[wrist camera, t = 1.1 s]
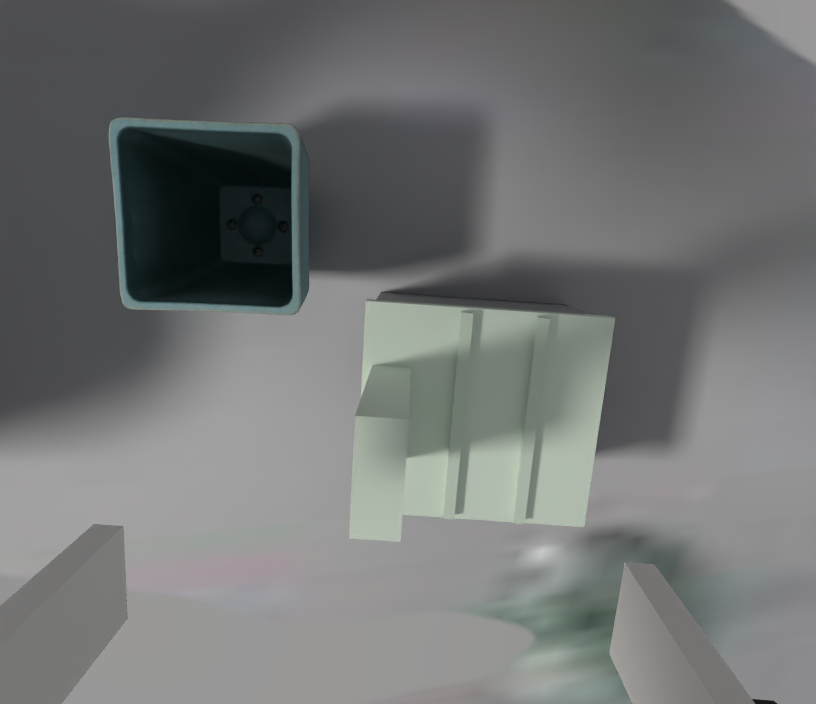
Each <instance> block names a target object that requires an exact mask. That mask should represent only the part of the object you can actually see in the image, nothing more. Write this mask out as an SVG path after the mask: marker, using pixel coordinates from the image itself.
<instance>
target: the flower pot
mask: <svg viewBox="0 0 816 704" xmlns="http://www.w3.org/2000/svg"><path fill="white" fill-rule="evenodd" d="M108 137H109V149H110V162H111V171H112V181H113V194H114V207H115V218H116V237H117V255H118V268H119V284H120V295H121V299H122V302H123V305H124V306H125V307H126V308H128V309H135V310H178V311H181V310H184V311H212V312H236V313H257V314H274V315H293V314H296V313H297V312H298V311H299V309H300V308H301V306H302V304H303V302H304V300H305V298H306V296H307V293H308V290H309V159H308V155H307V152H306V149H305V146H304V144H303V141H302V139H301V136H300V134H299V131H298V130H297V128H296V127H294V126H293V125H289V124H282V123H243V122H211V121H194V120H169V119H148V118H131V117H119V118H115V119H113V120H112V121H111V122H110V126H109V136H108ZM255 196H260V197H261V199H262V201H261V203H260V204H256V203H255V202H254V197H255ZM230 221H235V222H236V224H237V227H236V228H235V229H230V227H229V222H230ZM282 223H286V224H287V226H288V229H287V230H286V231H282V230H281V229H280V225H281V224H282ZM256 248H261V249H262V251H263V254H262V255H261V256H257V255H256V254H255V249H256Z"/></svg>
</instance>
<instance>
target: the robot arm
mask: <svg viewBox="0 0 816 704" xmlns="http://www.w3.org/2000/svg"><path fill="white" fill-rule="evenodd" d="M127 618H128V616H127V594H126V573H125V553H124V532H123V526H113V525H99V524H94V525H93V526H91V527H90V528H89V529H88V530H87V531H86V532H85V533H83V534H82V535H81V536H80V537H79V538H78V539H76V540H75V541H74V542H73V543H72V544H71V545H70V546H68V547H67V548H66V549H65V550H64V551H63V552H62V553H60V554H59V555H58V556H57V557H56V558H55V559H54V560H52V561H51V562H50V563H49V564H48V565H47V566H46V567H44V568H43V569H42V570H41V571H40V572H39V573H37V574H36V575H35V576H34V577H33V578H32V579H31V580H29V581H28V582H27V583H26V584H25V585H24V586H23V587H22V588H20V589H19V590H18V591H17V592H16V593H15V594H14V595H12V596H11V597H10V598H9V599H8V600H7V601H5V602H4V603H3V604H2V605H1V606H0V704H62V702H63V701H64V700H65V699H66V697H67V696H68V695H69V693H70V692H71V691H72V689H73V688H74V687H75V686H76V684H77V683H78V682H79V681H80V679H81V678H82V677H83V675H84V674H85V673H86V671H87V670H88V669H89V667H90V666H91V665H92V663H93V662H94V661H95V660H96V658H97V657H98V656H99V654H100V653H101V652H102V651H103V649H104V648H105V647H106V646H107V644H108V643H109V642H110V640H111V639H112V638H113V636H114V635H115V634H116V633H117V631H118V630H119V629H120V627H121V626H122V625H123V624H124V622H125V621H126V620H127ZM609 654H610V656H611V658H612V660H613V662H614V665H615V667H616V669H617V671H618V673H619V675H620V678H621V680H622V682H623V684H624V686H625V688H626V691H627V693H628V695H629V697H630V699H631V701H632V704H777V703H776V702H774V701H769V700H756V699H751V697H750V696H749V694H748V693H747V692H746V690H745V689H744V687H743V686H742V685H741V683H740V682H739V681H738V679H737V678H736V676H735V675H734V674H733V672H732V671H731V670H730V668H729V667H728V665H727V664H726V663H725V661H724V660H723V659H722V657H721V656H720V654H719V653H718V652H717V650H716V649H715V648H714V646H713V645H712V643H711V642H710V641H709V639H708V638H707V637H706V635H705V634H704V632H703V631H702V630H701V628H700V627H699V626H698V624H697V623H696V621H695V620H694V619H693V617H692V616H691V614H690V613H689V612H688V610H687V609H686V608H685V606H684V605H683V603H682V602H681V601H680V599H679V598H678V597H677V595H676V594H675V592H674V591H673V590H672V588H671V587H670V586H669V584H668V583H667V581H666V580H665V579H664V577H663V576H662V575H661V573H660V572H659V570H658V569H657V568H656V566H655V565H653V564H639V563H625V564H624V570H623V576H622V582H621V588H620V594H619V600H618V606H617V612H616V618H615V623H614V629H613V635H612V641H611V647H610V653H609Z"/></svg>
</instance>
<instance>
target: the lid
mask: <svg viewBox="0 0 816 704" xmlns="http://www.w3.org/2000/svg"><path fill="white" fill-rule="evenodd" d="M614 325H615V318H614V317H612V316H605V315H591V314H576V313H562V312H547V311H533V310H518V309H504V308H489V307H474V306H460V305H445V304H431V303H416V302H402V301H387V300H373V299H367V300H366V306H365V326H364V345H363V365H362V385H361V400H360V403H359V406H358V409H357V411H356V414H355V427H354V448H353V468H352V489H351V509H350V529H349V538H353V539H367V540H382V541H397V542H401V528H402V515H415V516H430V517H443V519H454V518H459V519H474V520H489V521H503V522H513V524H525V523H533V524H547V525H562V526H577V527H584V524H585V517H586V511H587V504H588V497H589V491H590V484H591V477H592V471H593V464H594V457H595V451H596V444H597V438H598V431H599V424H600V418H601V411H602V404H603V398H604V391H605V384H606V378H607V371H608V364H609V358H610V351H611V345H612V338H613V331H614Z"/></svg>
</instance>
